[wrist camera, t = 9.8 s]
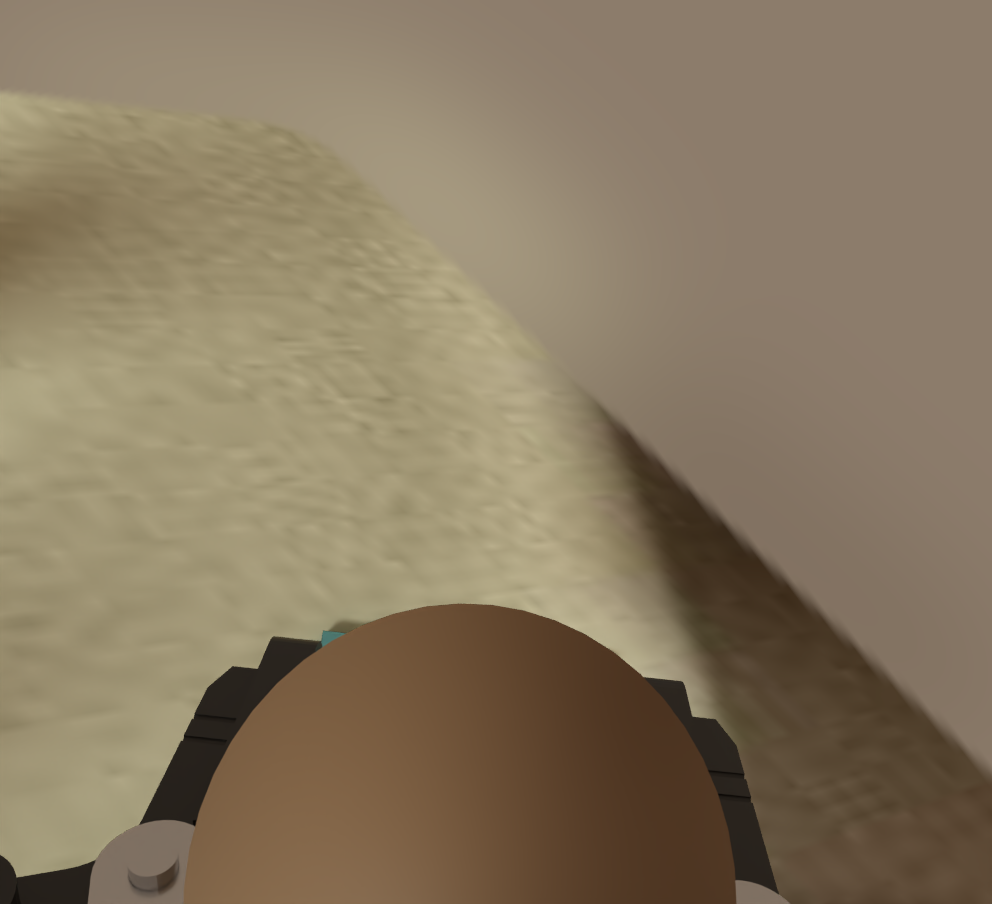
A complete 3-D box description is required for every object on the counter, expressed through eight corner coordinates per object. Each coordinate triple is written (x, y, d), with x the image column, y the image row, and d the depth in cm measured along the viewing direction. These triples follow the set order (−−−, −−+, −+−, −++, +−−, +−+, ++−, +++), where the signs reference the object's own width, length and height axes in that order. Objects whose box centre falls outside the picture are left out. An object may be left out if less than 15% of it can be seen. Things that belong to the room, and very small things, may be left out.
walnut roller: (310, 950, 16) (122, 1185, 7) (351, 680, 18) (242, 578, 9) (571, 977, 16) (733, 1246, 7) (589, 706, 18) (739, 631, 9)
